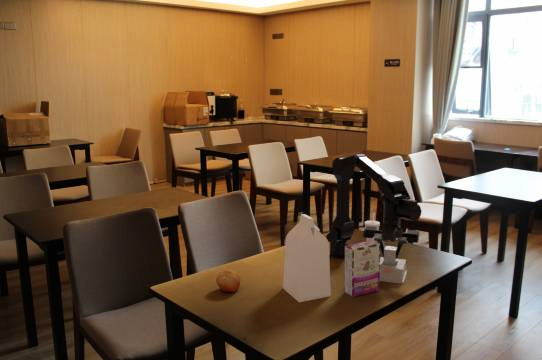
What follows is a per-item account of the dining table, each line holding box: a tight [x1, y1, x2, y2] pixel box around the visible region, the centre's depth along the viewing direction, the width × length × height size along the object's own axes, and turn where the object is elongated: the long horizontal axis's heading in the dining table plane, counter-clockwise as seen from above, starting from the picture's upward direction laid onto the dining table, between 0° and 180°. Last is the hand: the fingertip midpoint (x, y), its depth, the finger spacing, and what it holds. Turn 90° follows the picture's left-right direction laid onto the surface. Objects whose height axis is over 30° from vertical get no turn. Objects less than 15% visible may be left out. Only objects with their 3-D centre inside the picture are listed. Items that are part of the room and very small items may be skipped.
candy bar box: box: [344, 240, 381, 298], centre depth 171 cm, size 11×5×16 cm, turn 118°
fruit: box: [215, 268, 241, 293], centre depth 174 cm, size 8×8×8 cm
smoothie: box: [363, 212, 381, 243], centre depth 218 cm, size 6×6×14 cm
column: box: [384, 245, 398, 266], centre depth 184 cm, size 4×4×10 cm
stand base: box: [379, 256, 408, 285], centre depth 185 cm, size 11×11×5 cm
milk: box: [282, 213, 332, 303], centre depth 170 cm, size 12×12×26 cm
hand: (390, 257), depth 184 cm, fingers closed on column, 4 cm apart
